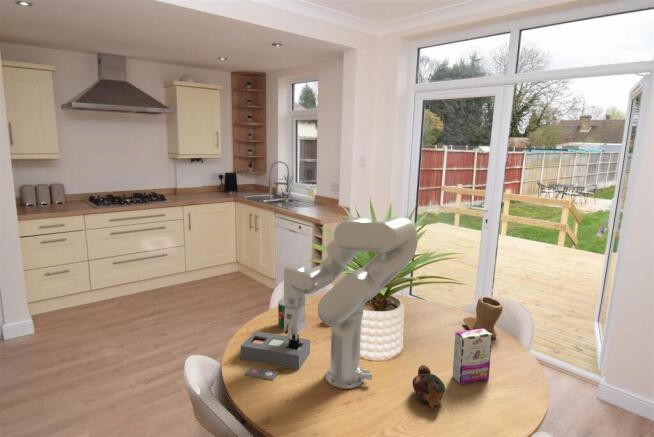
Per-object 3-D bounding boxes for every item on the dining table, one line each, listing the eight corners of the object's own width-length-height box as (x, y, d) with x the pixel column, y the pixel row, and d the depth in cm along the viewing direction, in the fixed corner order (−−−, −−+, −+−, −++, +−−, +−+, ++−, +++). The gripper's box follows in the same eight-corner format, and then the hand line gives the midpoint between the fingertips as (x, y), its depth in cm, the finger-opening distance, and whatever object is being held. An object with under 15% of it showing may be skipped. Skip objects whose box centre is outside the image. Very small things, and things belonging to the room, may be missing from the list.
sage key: (284, 346, 148) (284, 340, 148) (279, 352, 144) (279, 346, 144) (272, 345, 150) (272, 339, 149) (267, 350, 145) (267, 344, 145)
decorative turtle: (432, 383, 133) (435, 361, 131) (452, 416, 118) (456, 392, 116) (403, 383, 131) (406, 361, 129) (420, 417, 117) (424, 393, 115)
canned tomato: (274, 326, 172) (274, 301, 170) (289, 321, 177) (289, 297, 175) (285, 332, 166) (285, 307, 164) (300, 327, 171) (301, 302, 169)
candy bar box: (479, 372, 140) (483, 327, 137) (489, 380, 135) (493, 334, 132) (450, 376, 137) (454, 331, 134) (459, 384, 132) (463, 337, 129)
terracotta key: (266, 347, 150) (266, 341, 150) (261, 353, 146) (261, 346, 146) (255, 345, 152) (255, 339, 151) (250, 351, 147) (250, 344, 147)
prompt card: (278, 372, 137) (278, 370, 137) (272, 380, 132) (272, 378, 132) (251, 367, 140) (251, 365, 140) (244, 375, 135) (244, 373, 135)
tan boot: (504, 340, 163) (508, 305, 161) (475, 340, 163) (478, 304, 160) (488, 324, 178) (492, 291, 175) (462, 323, 178) (464, 291, 175)
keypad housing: (310, 353, 150) (310, 339, 149) (298, 370, 139) (299, 355, 138) (255, 344, 156) (255, 331, 155) (240, 359, 145) (240, 345, 144)
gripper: (297, 309, 133) (296, 361, 137) (311, 294, 148) (310, 341, 151) (275, 306, 135) (276, 357, 139) (292, 291, 150) (291, 338, 153)
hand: (294, 348), depth 145 cm, fingers closed
